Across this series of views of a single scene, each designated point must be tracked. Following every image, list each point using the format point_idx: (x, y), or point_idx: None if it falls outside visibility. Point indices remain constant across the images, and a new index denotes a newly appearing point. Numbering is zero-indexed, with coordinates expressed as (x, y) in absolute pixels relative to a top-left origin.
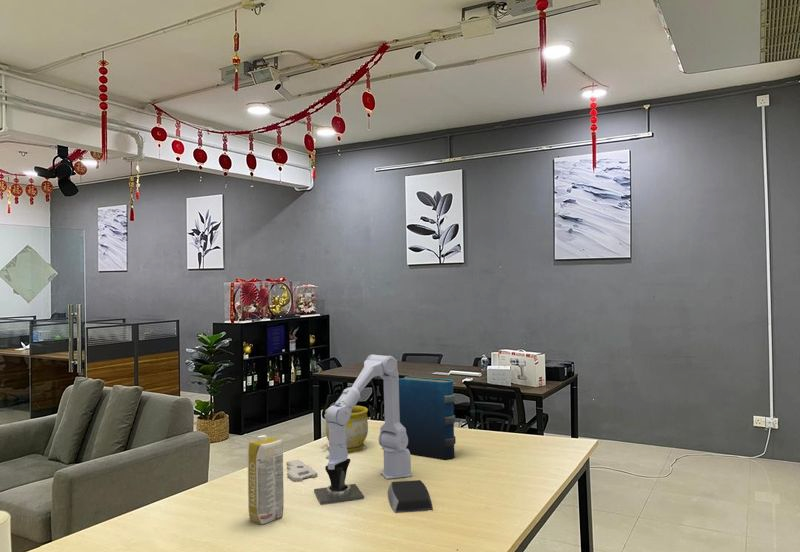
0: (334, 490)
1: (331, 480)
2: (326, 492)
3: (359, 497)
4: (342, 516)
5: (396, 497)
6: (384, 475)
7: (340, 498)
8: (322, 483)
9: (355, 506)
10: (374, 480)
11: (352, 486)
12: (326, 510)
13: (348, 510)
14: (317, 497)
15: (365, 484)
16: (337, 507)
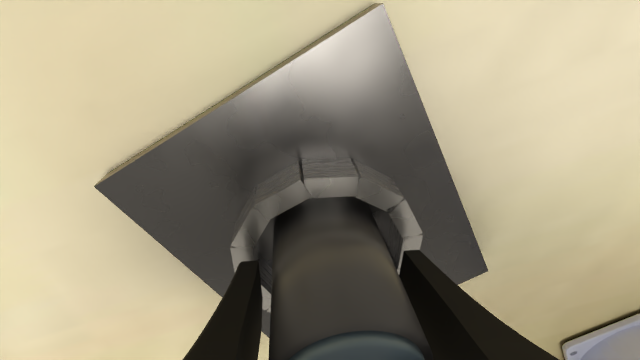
0: (273, 247)
1: (218, 325)
2: (298, 162)
3: None
4: (12, 339)
5: None
6: (606, 334)
7: (213, 281)
8: (603, 2)
9: (179, 342)
10: (564, 304)
11: None
12: (34, 243)
13: (109, 335)
14: (216, 105)
15: (510, 288)
16: (120, 280)
